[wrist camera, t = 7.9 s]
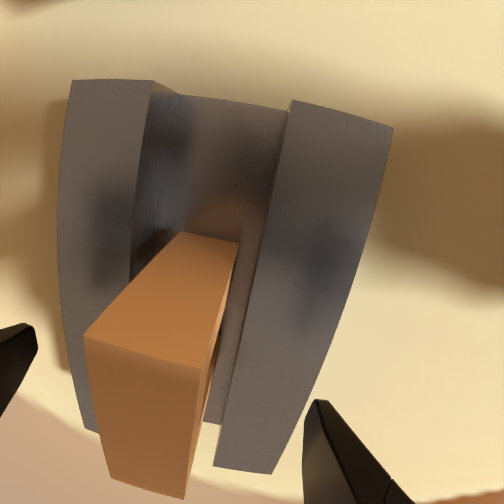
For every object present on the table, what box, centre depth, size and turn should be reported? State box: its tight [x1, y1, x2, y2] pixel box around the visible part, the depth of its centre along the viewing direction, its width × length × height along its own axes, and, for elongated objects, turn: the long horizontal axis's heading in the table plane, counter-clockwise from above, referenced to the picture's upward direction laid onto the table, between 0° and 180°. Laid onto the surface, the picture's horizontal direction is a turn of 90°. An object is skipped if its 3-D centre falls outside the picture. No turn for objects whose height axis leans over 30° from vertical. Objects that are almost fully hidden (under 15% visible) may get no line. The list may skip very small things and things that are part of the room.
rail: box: [57, 79, 393, 475], centre depth 12 cm, size 10×16×4 cm, turn 169°
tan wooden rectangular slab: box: [83, 231, 240, 500], centre depth 10 cm, size 2×6×8 cm, turn 168°
